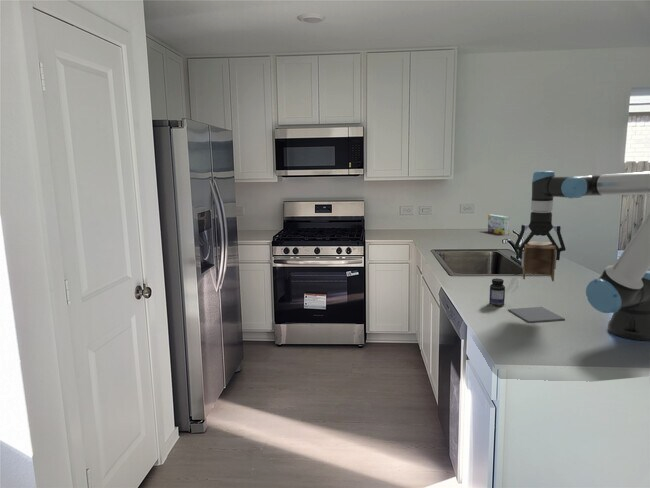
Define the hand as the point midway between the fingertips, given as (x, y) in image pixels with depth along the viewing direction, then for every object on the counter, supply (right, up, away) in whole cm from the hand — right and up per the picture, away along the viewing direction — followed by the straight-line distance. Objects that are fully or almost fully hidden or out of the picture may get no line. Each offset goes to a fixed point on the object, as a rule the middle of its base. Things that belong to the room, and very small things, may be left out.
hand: (538, 267), depth 179 cm
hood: (0, -4, +1) cm, 4 cm away
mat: (0, -19, +3) cm, 20 cm away
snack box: (+62, +18, +204) cm, 214 cm away
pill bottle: (-10, -17, +18) cm, 27 cm away
